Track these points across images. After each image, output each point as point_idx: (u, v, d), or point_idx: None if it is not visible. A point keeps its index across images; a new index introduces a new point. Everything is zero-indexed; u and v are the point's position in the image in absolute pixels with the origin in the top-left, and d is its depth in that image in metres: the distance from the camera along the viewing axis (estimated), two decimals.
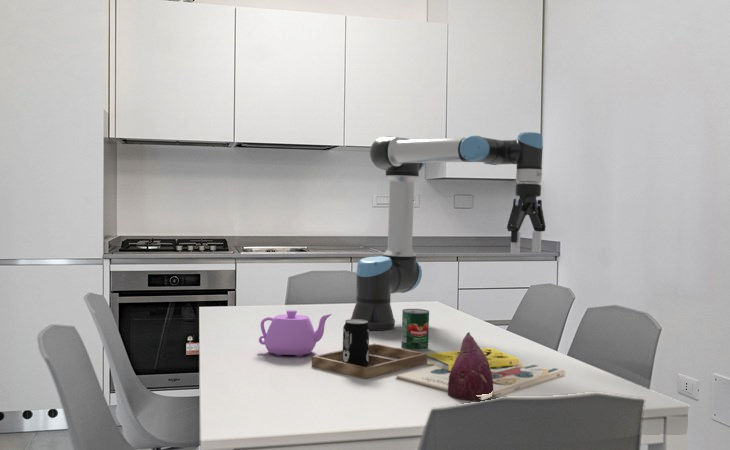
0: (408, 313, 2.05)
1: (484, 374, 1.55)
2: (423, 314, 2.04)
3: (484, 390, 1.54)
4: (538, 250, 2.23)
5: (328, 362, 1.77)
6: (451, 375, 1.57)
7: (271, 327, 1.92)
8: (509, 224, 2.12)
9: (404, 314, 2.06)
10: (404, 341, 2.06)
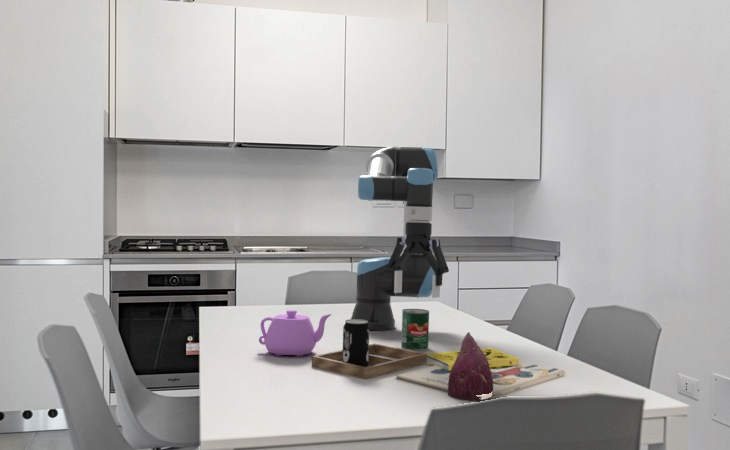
0: (408, 313, 2.05)
1: (484, 374, 1.55)
2: (423, 314, 2.04)
3: (483, 390, 1.54)
4: None
5: (328, 362, 1.77)
6: (451, 375, 1.57)
7: (271, 327, 1.92)
8: None
9: (404, 314, 2.06)
10: (404, 341, 2.06)
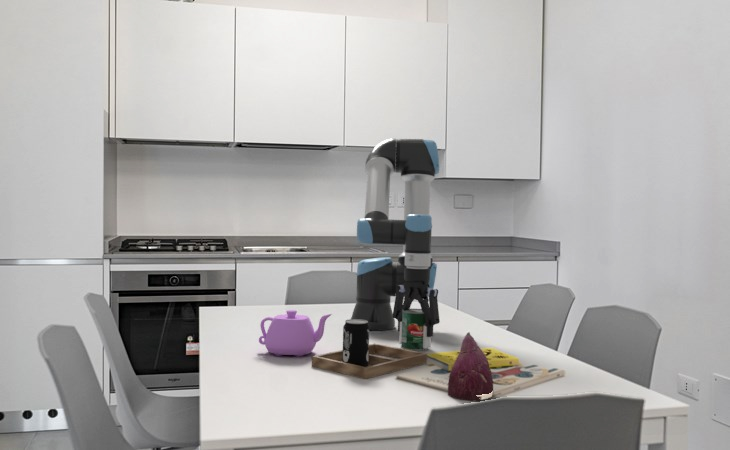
0: (408, 313, 2.05)
1: (484, 374, 1.55)
2: (423, 314, 2.04)
3: (483, 390, 1.54)
4: None
5: (328, 362, 1.77)
6: (451, 375, 1.57)
7: (271, 327, 1.92)
8: None
9: (404, 314, 2.06)
10: (404, 341, 2.06)
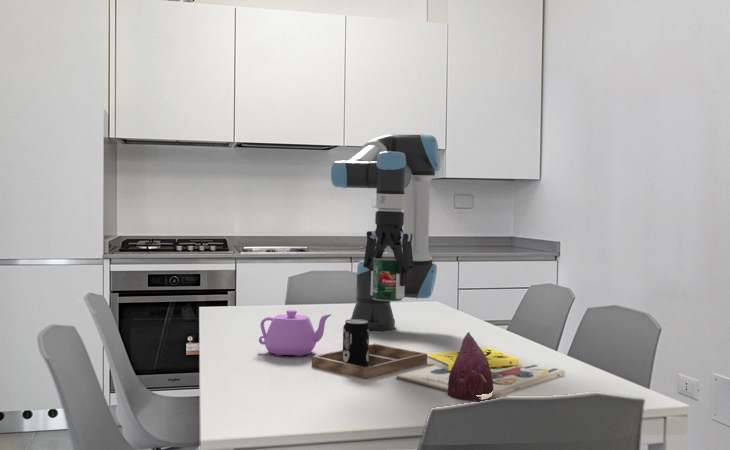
0: (379, 260, 1.86)
1: (484, 374, 1.55)
2: (396, 261, 1.85)
3: (483, 390, 1.54)
4: None
5: (328, 362, 1.77)
6: (451, 375, 1.57)
7: (271, 327, 1.92)
8: None
9: (375, 261, 1.87)
10: (375, 291, 1.87)
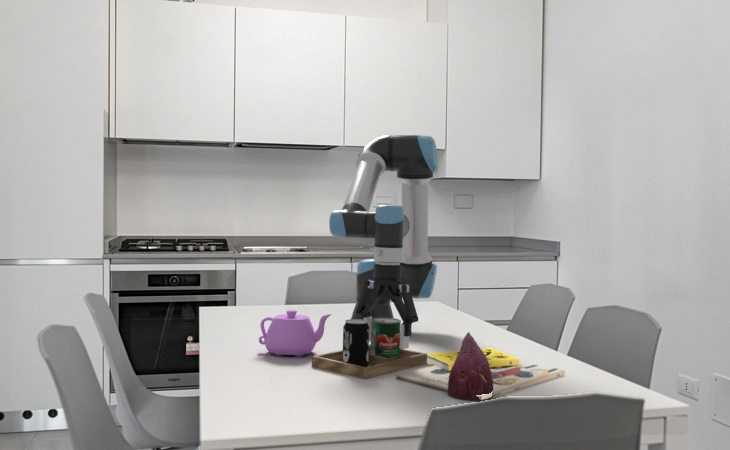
0: (377, 323, 1.86)
1: (484, 374, 1.55)
2: (393, 324, 1.86)
3: (483, 390, 1.54)
4: None
5: (328, 362, 1.77)
6: (451, 375, 1.57)
7: (271, 327, 1.92)
8: None
9: (373, 324, 1.87)
10: (373, 354, 1.87)
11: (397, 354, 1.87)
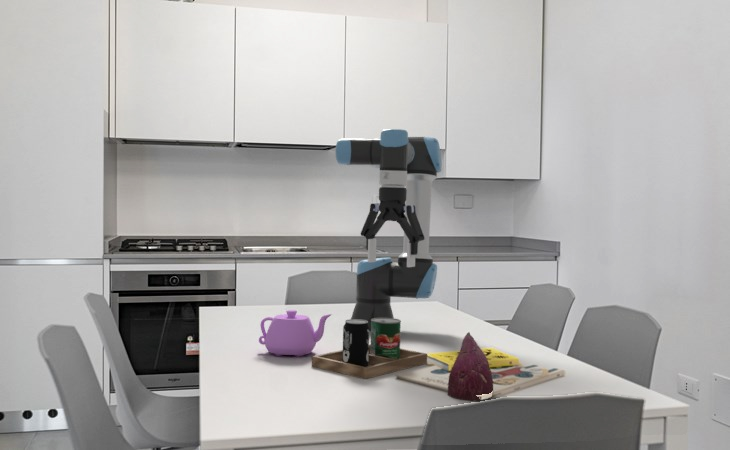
0: (377, 323, 1.86)
1: (484, 374, 1.55)
2: (393, 324, 1.86)
3: (483, 390, 1.54)
4: None
5: (328, 362, 1.77)
6: (451, 375, 1.57)
7: (271, 327, 1.92)
8: None
9: (373, 324, 1.87)
10: (373, 354, 1.87)
11: (397, 354, 1.87)
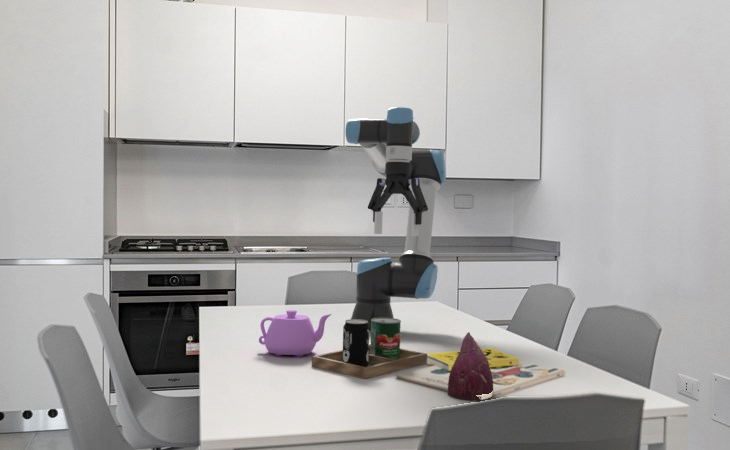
0: (377, 323, 1.86)
1: (484, 374, 1.55)
2: (393, 324, 1.86)
3: (483, 390, 1.54)
4: None
5: (328, 362, 1.77)
6: (451, 375, 1.57)
7: (271, 327, 1.92)
8: None
9: (373, 324, 1.87)
10: (373, 354, 1.87)
11: (397, 354, 1.87)
